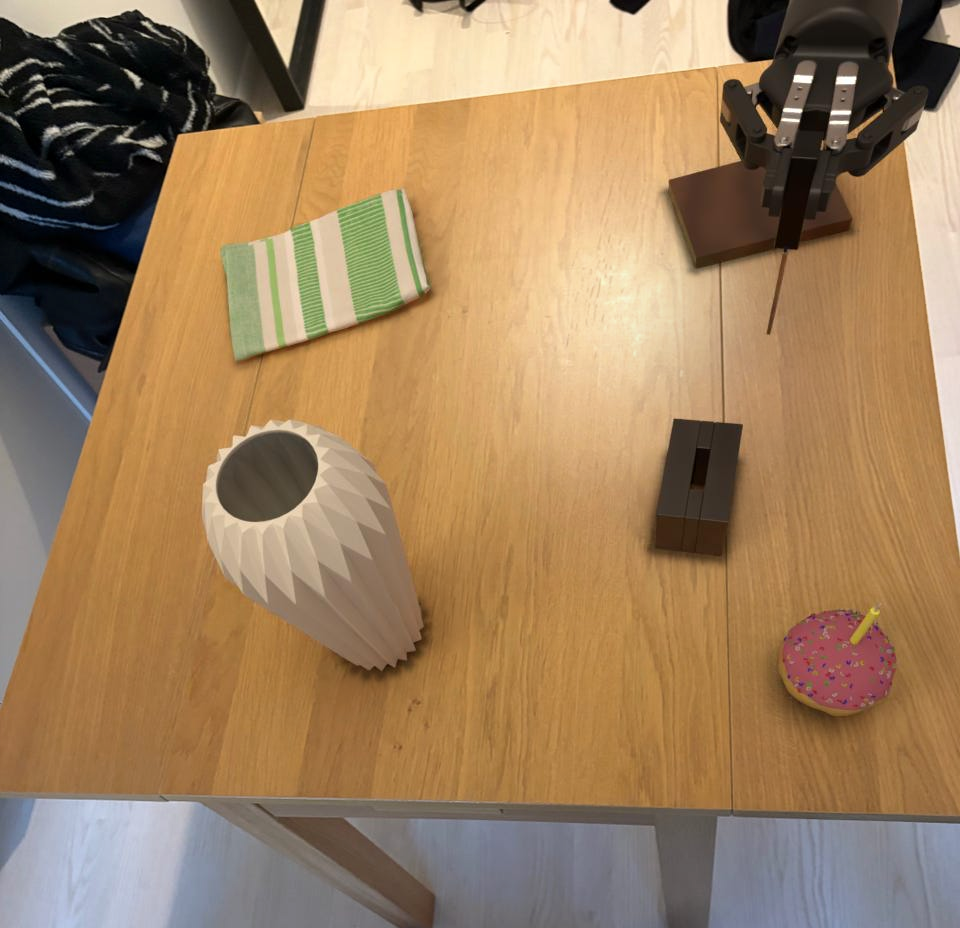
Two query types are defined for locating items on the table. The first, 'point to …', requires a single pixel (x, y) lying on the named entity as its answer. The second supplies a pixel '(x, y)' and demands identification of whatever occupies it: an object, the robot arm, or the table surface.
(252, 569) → the vase
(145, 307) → the table surface
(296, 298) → the dish towel
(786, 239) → the knife
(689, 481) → the knife block
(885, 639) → the cupcake
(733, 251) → the cutting board
